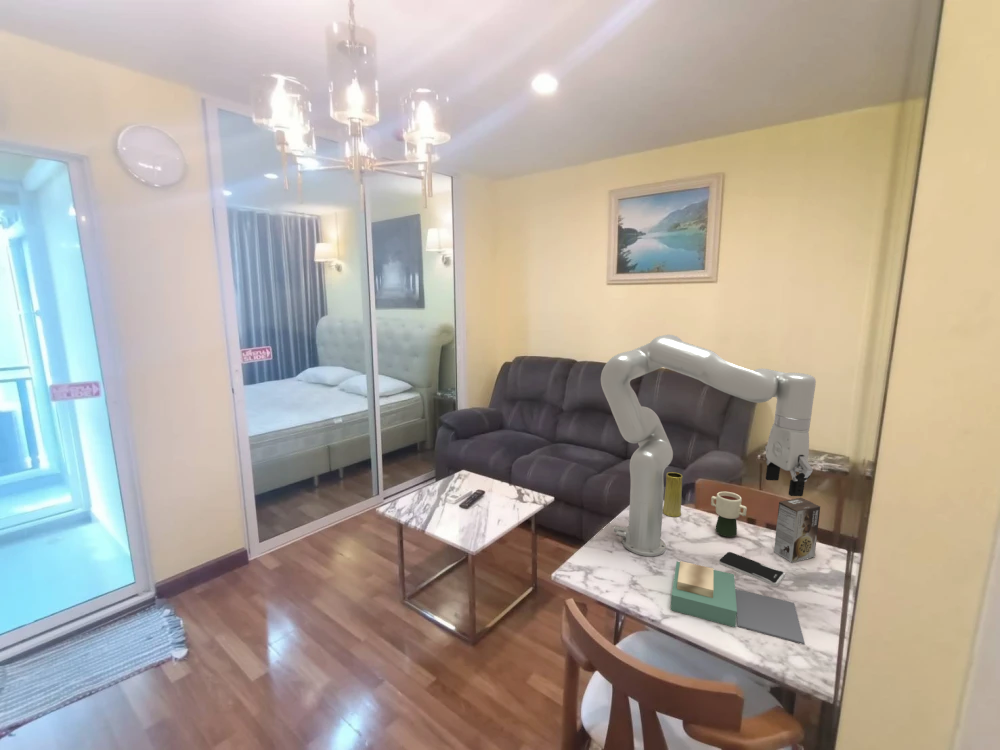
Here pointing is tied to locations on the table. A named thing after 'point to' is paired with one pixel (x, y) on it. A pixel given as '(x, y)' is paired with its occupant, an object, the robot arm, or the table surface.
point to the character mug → (727, 512)
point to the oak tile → (695, 579)
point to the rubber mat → (768, 616)
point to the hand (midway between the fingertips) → (783, 487)
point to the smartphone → (752, 568)
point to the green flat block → (708, 600)
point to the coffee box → (796, 529)
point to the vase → (673, 495)
